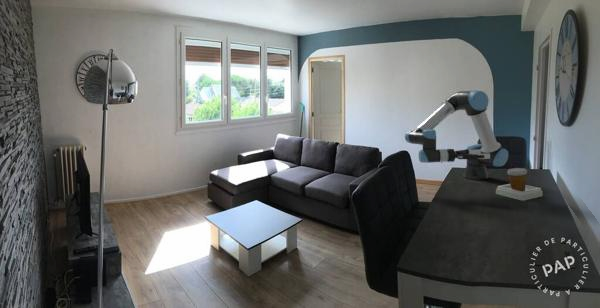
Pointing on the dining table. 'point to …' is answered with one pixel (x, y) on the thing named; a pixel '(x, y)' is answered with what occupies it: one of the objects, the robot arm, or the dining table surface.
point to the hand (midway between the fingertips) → (485, 153)
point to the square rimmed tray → (519, 192)
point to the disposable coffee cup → (517, 178)
